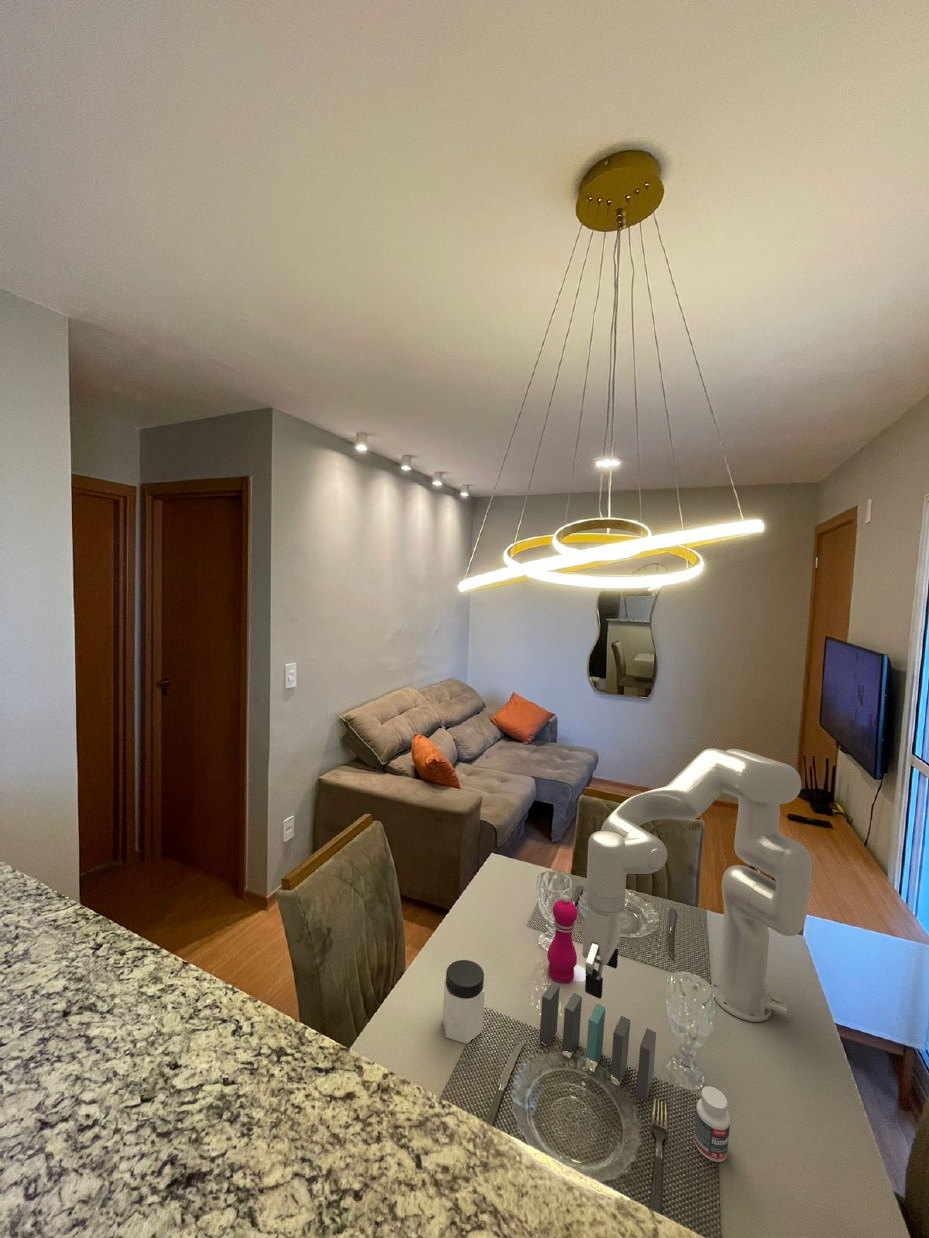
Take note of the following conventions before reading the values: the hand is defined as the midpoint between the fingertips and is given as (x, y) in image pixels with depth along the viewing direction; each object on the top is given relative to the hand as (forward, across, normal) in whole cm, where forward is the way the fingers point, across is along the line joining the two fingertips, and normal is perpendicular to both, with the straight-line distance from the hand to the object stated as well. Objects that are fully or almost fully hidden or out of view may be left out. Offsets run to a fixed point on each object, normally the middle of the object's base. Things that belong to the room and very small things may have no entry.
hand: (601, 979), depth 104 cm
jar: (+16, +10, -26) cm, 33 cm away
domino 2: (+17, +1, -6) cm, 18 cm away
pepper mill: (+17, -18, -16) cm, 29 cm away
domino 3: (+17, +1, -1) cm, 17 cm away
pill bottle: (+17, +5, +22) cm, 28 cm away
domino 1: (+17, +1, -10) cm, 20 cm away
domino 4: (+17, +1, +4) cm, 18 cm away
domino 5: (+17, +1, +10) cm, 19 cm away
